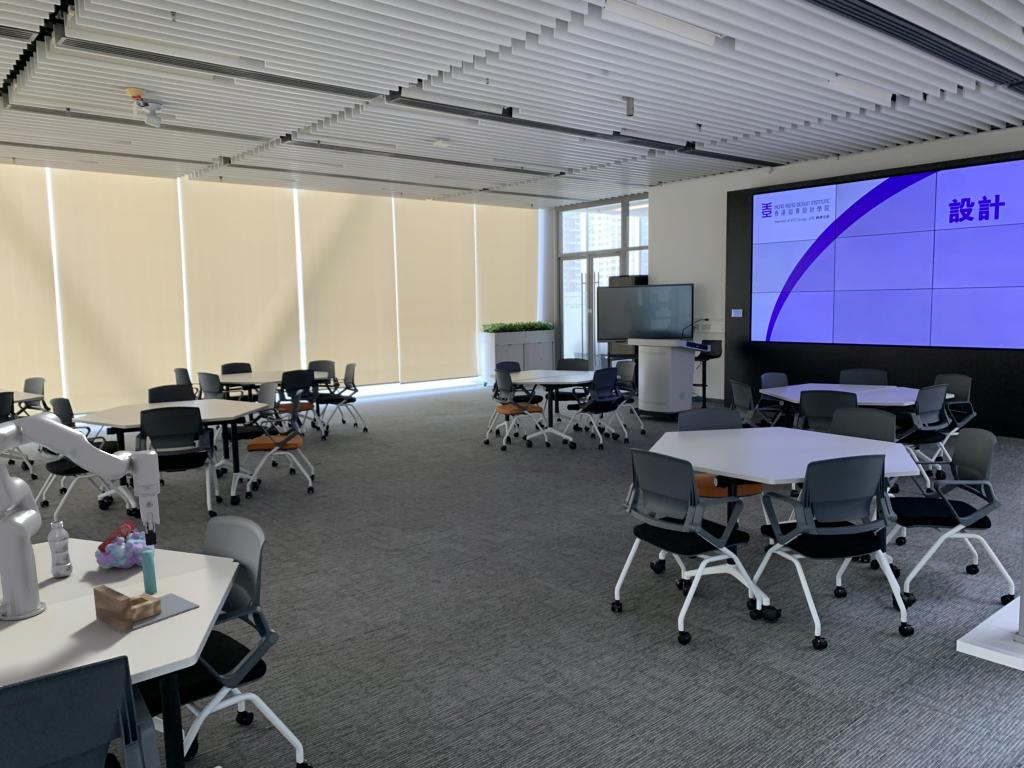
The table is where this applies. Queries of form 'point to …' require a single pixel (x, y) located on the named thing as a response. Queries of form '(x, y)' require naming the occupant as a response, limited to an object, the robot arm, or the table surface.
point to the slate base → (164, 611)
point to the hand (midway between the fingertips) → (151, 544)
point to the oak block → (144, 606)
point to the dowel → (149, 572)
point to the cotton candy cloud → (122, 548)
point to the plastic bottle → (59, 550)
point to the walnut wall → (113, 608)
